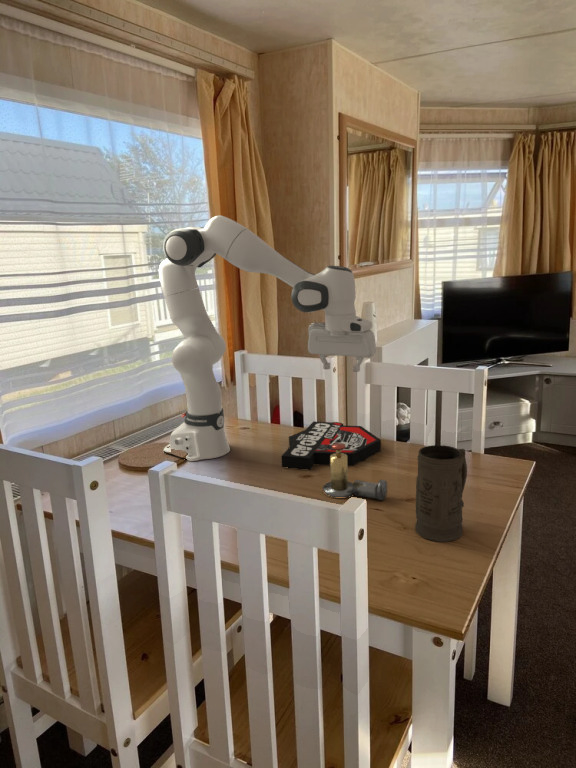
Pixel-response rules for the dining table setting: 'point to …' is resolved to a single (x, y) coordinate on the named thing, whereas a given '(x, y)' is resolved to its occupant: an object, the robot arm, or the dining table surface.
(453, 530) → the beer stein
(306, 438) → the decorative sign
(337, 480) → the valve
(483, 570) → the dining table surface
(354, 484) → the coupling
